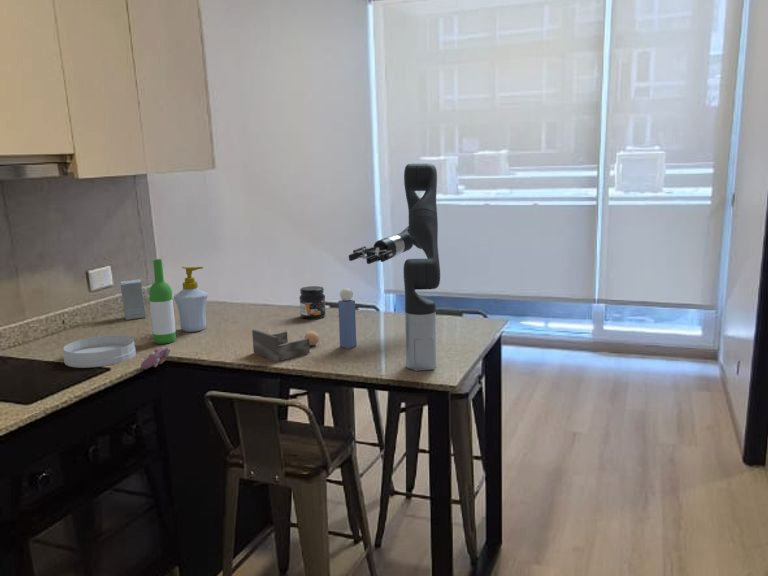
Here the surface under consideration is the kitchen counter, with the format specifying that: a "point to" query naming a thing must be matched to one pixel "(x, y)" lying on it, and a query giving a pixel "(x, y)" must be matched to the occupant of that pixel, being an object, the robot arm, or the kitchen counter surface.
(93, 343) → the dish
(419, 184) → the robot arm
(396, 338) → the kitchen counter surface
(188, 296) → the soap bottle
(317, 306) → the supplement container
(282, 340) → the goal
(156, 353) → the video game controller
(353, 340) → the figure
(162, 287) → the wine bottle
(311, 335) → the ball
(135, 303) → the skincare box
